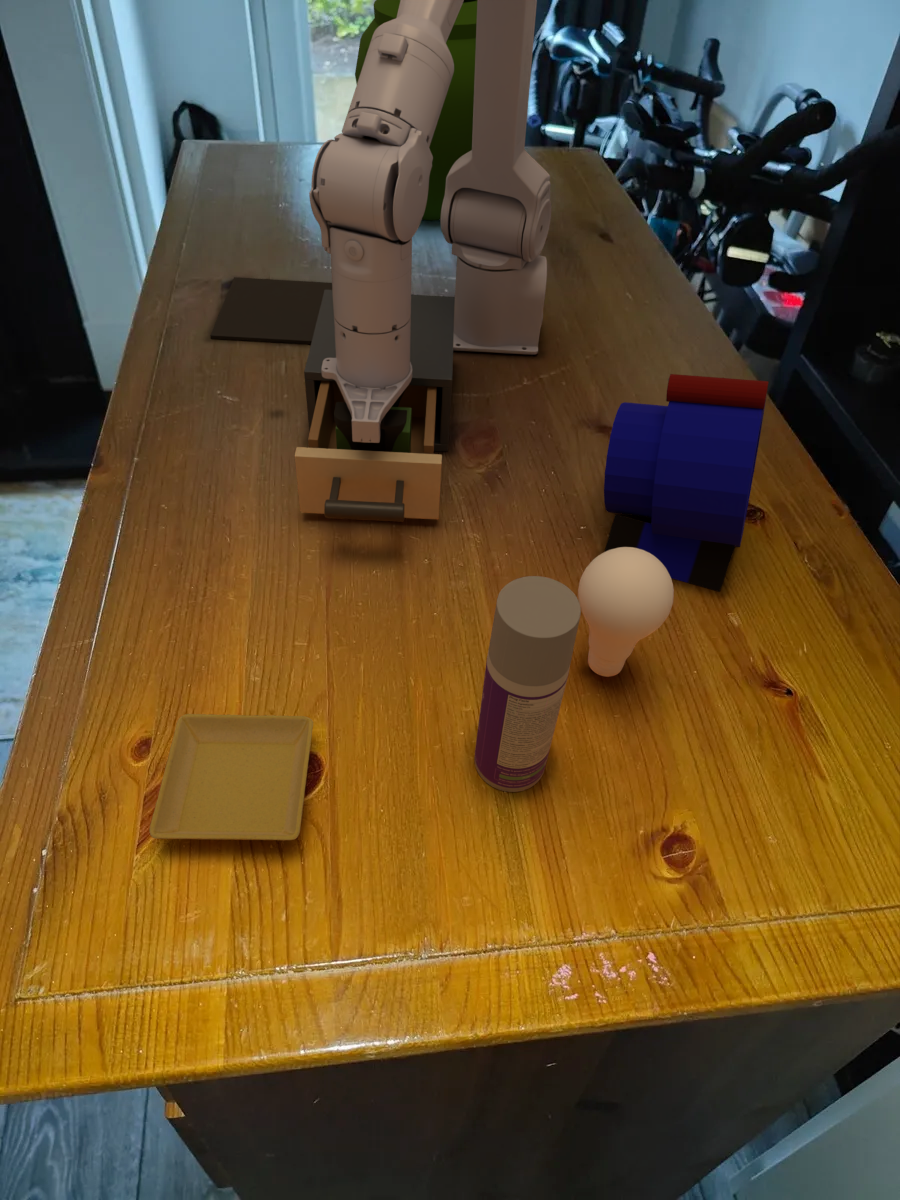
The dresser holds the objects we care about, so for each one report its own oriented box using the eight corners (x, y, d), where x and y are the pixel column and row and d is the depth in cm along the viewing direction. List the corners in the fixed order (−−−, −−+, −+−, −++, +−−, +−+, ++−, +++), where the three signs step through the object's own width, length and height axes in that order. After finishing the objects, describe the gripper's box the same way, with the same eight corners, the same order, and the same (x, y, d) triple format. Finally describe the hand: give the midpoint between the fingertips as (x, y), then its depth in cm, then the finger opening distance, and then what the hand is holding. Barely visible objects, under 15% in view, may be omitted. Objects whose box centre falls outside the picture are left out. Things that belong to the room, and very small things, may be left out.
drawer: (437, 555, 67) (440, 498, 62) (292, 548, 66) (285, 491, 62) (442, 423, 79) (445, 369, 75) (320, 417, 78) (316, 361, 74)
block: (410, 450, 74) (411, 407, 71) (408, 475, 71) (409, 432, 68) (342, 447, 74) (339, 403, 70) (337, 472, 71) (335, 428, 68)
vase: (374, 174, 121) (371, -35, 103) (509, 188, 120) (530, -20, 102) (344, 231, 108) (334, 3, 90) (495, 248, 106) (516, 21, 89)
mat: (390, 289, 98) (390, 286, 98) (382, 348, 89) (382, 344, 89) (234, 280, 97) (234, 277, 97) (210, 338, 89) (210, 335, 88)
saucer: (153, 853, 50) (145, 837, 48) (184, 730, 55) (178, 712, 54) (301, 856, 50) (298, 840, 48) (316, 734, 56) (314, 715, 54)
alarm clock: (727, 594, 67) (794, 438, 56) (577, 551, 69) (612, 394, 58) (745, 501, 75) (807, 349, 64) (610, 466, 77) (647, 314, 66)
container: (470, 732, 56) (489, 575, 46) (539, 729, 57) (574, 572, 46) (477, 794, 53) (500, 641, 42) (550, 790, 54) (591, 638, 43)
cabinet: (447, 451, 77) (452, 379, 72) (310, 444, 77) (303, 371, 71) (450, 365, 87) (454, 296, 82) (328, 359, 87) (324, 289, 81)
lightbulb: (591, 716, 58) (623, 608, 50) (544, 653, 61) (567, 543, 53) (662, 685, 60) (704, 577, 52) (613, 627, 64) (645, 517, 56)
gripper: (329, 266, 68) (337, 410, 77) (305, 364, 58) (317, 514, 68) (417, 271, 68) (414, 414, 78) (408, 370, 58) (405, 518, 68)
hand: (375, 461), depth 73 cm, fingers closed on block, 3 cm apart
